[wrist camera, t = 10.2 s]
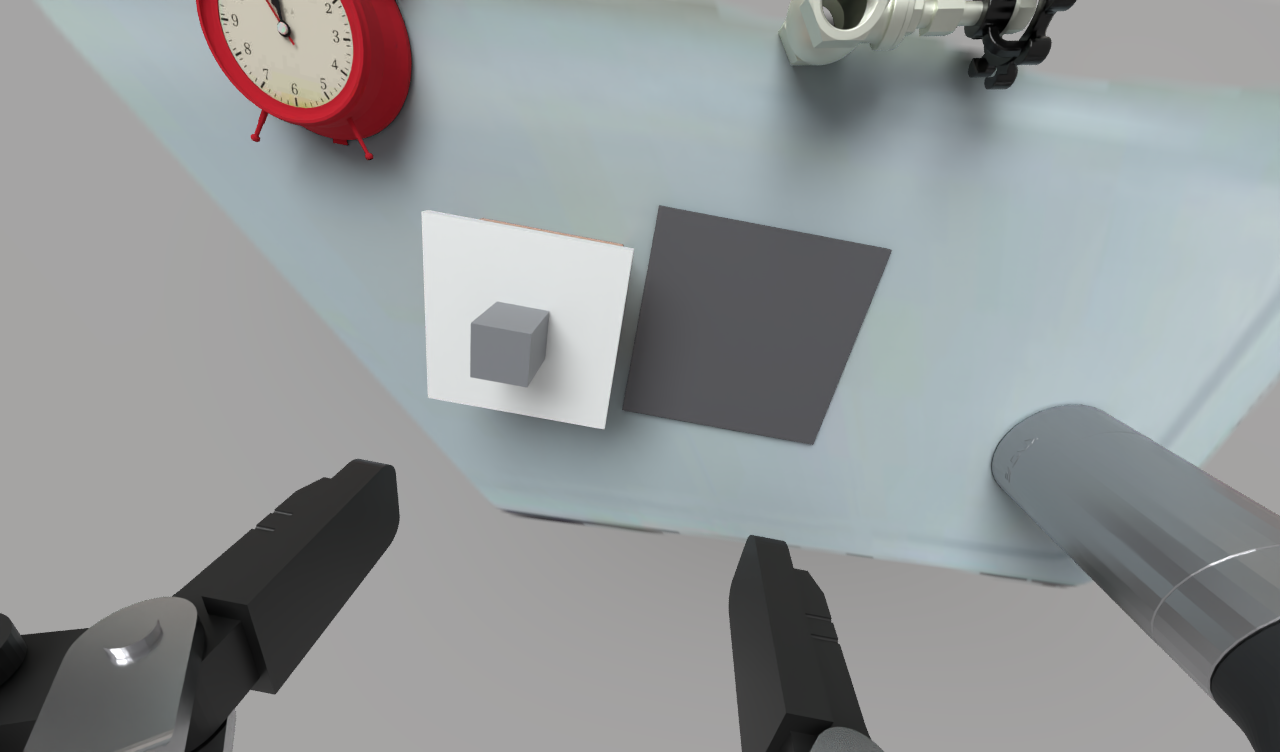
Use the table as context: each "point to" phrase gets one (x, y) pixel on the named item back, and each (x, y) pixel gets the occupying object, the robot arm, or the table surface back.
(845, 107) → the table surface
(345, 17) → the alarm clock
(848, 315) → the mat
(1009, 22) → the valve
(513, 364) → the lid
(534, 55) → the table surface
